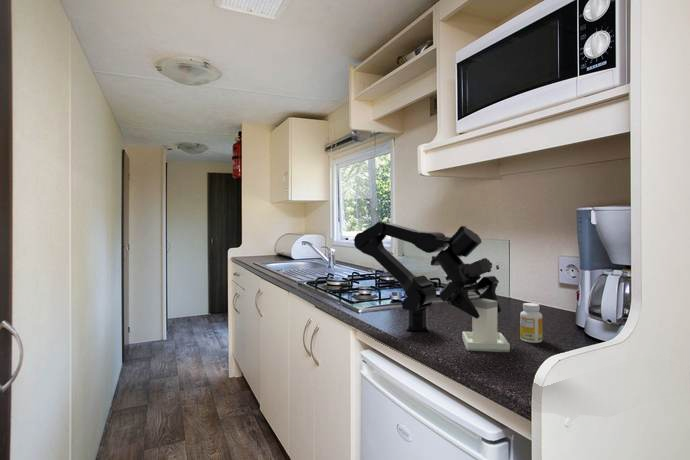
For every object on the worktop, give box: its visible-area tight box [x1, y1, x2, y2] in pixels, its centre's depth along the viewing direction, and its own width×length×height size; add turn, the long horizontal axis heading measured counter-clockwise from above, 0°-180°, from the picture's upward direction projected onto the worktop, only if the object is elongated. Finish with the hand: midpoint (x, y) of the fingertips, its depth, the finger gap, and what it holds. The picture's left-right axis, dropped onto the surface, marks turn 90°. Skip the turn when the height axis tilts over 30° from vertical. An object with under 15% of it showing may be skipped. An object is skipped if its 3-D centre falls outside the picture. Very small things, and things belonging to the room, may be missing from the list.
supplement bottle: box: [519, 302, 543, 344], centre depth 108 cm, size 5×5×10 cm
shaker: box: [471, 298, 499, 343], centre depth 104 cm, size 4×4×11 cm
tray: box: [461, 331, 511, 353], centre depth 104 cm, size 10×10×2 cm
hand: (489, 314), depth 103 cm, fingers open, 9 cm apart
